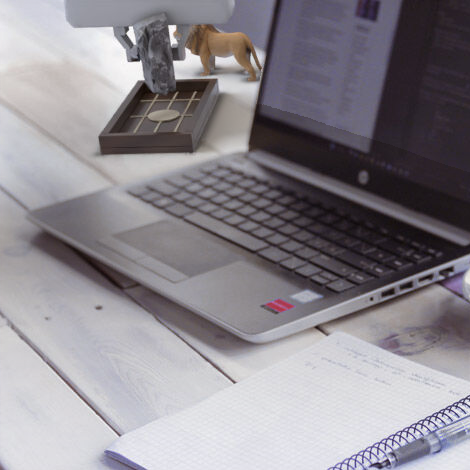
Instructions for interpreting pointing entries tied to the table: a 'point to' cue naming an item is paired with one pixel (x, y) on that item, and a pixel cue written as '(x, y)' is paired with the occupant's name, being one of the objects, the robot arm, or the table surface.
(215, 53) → the lion figurine
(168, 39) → the stone
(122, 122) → the board
